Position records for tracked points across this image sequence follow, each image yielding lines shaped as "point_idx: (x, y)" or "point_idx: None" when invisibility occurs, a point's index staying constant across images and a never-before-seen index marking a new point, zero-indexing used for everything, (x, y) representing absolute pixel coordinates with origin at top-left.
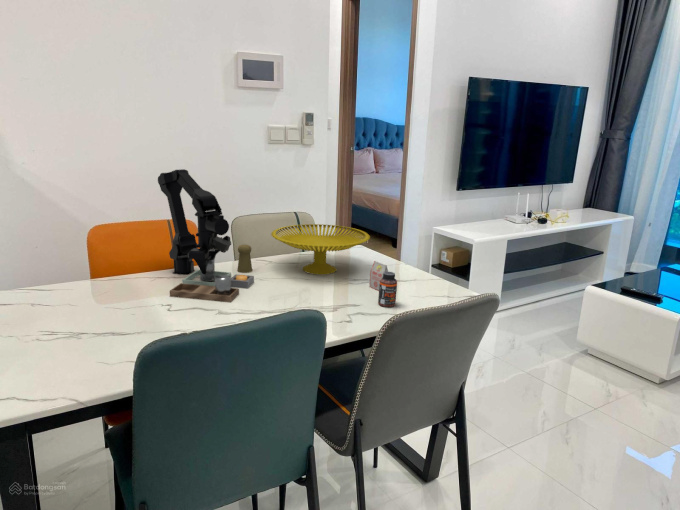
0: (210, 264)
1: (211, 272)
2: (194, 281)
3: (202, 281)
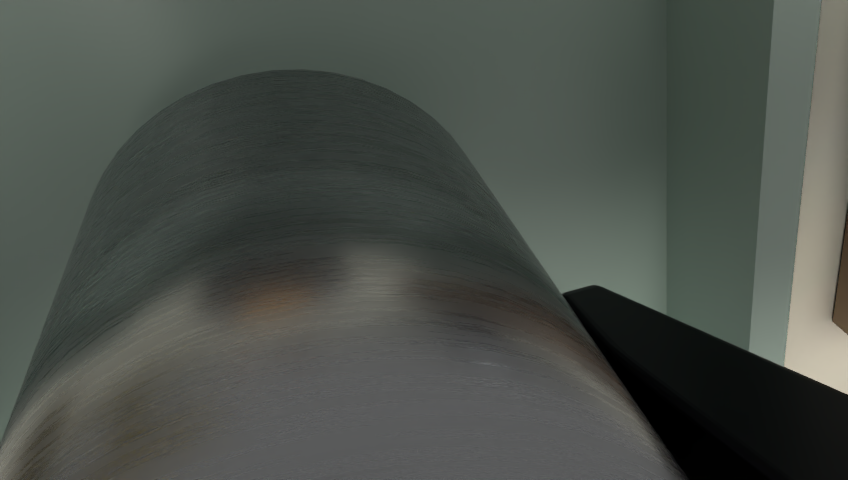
0: (607, 444)
1: (419, 185)
2: (783, 297)
3: (774, 128)
